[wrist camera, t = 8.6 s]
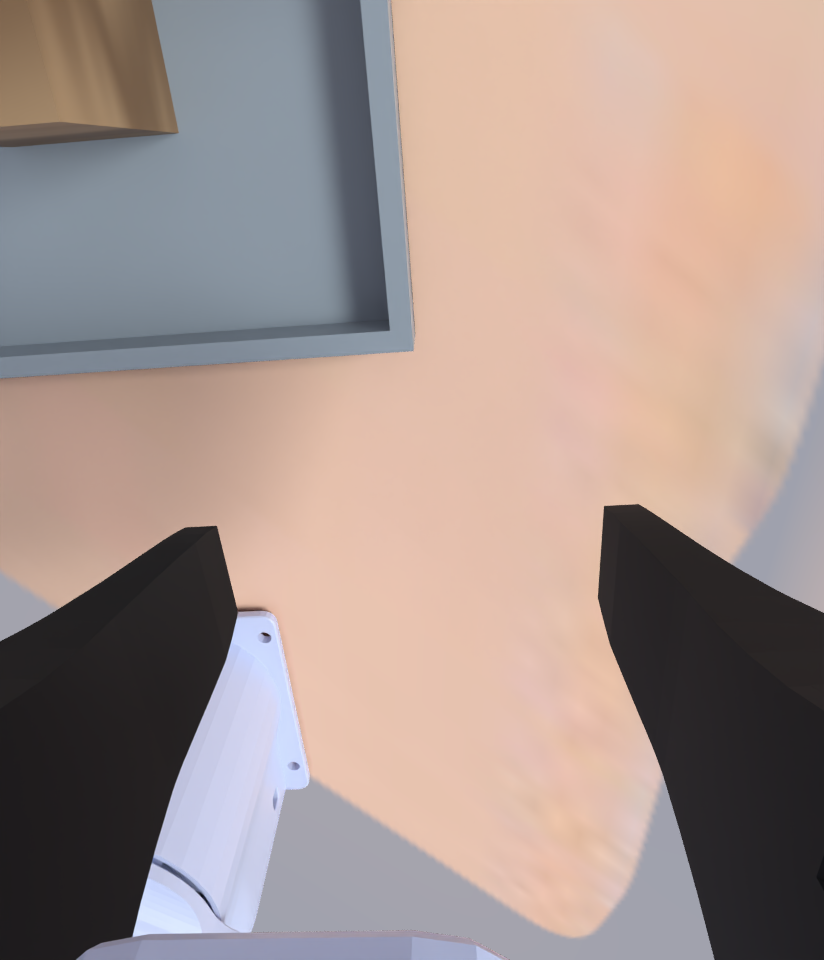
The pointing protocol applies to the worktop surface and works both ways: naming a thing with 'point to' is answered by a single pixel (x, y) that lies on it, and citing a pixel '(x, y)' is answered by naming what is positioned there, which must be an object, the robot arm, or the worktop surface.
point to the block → (81, 72)
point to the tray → (221, 205)
